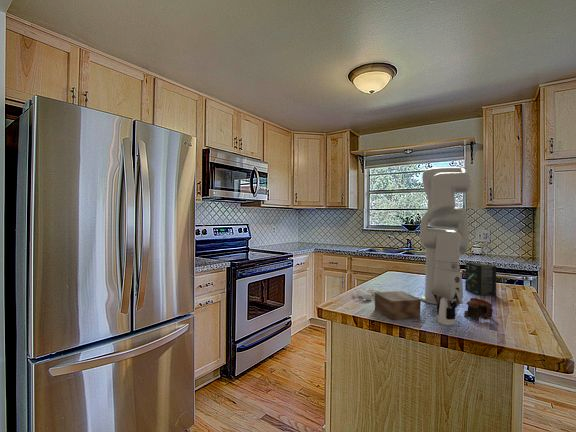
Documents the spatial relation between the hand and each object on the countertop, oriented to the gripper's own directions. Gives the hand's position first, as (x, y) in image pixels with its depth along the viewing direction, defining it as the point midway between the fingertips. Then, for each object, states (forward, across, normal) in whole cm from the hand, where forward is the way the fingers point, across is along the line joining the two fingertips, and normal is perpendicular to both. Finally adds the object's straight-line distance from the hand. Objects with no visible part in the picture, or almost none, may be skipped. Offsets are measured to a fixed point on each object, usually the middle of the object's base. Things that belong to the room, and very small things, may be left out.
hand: (445, 316), depth 110 cm
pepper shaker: (+2, 0, 0) cm, 2 cm away
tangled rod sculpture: (+3, +37, +11) cm, 38 cm away
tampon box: (+3, +34, -50) cm, 61 cm away
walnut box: (+2, +12, +12) cm, 17 cm away
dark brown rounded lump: (+3, +2, -17) cm, 17 cm away
